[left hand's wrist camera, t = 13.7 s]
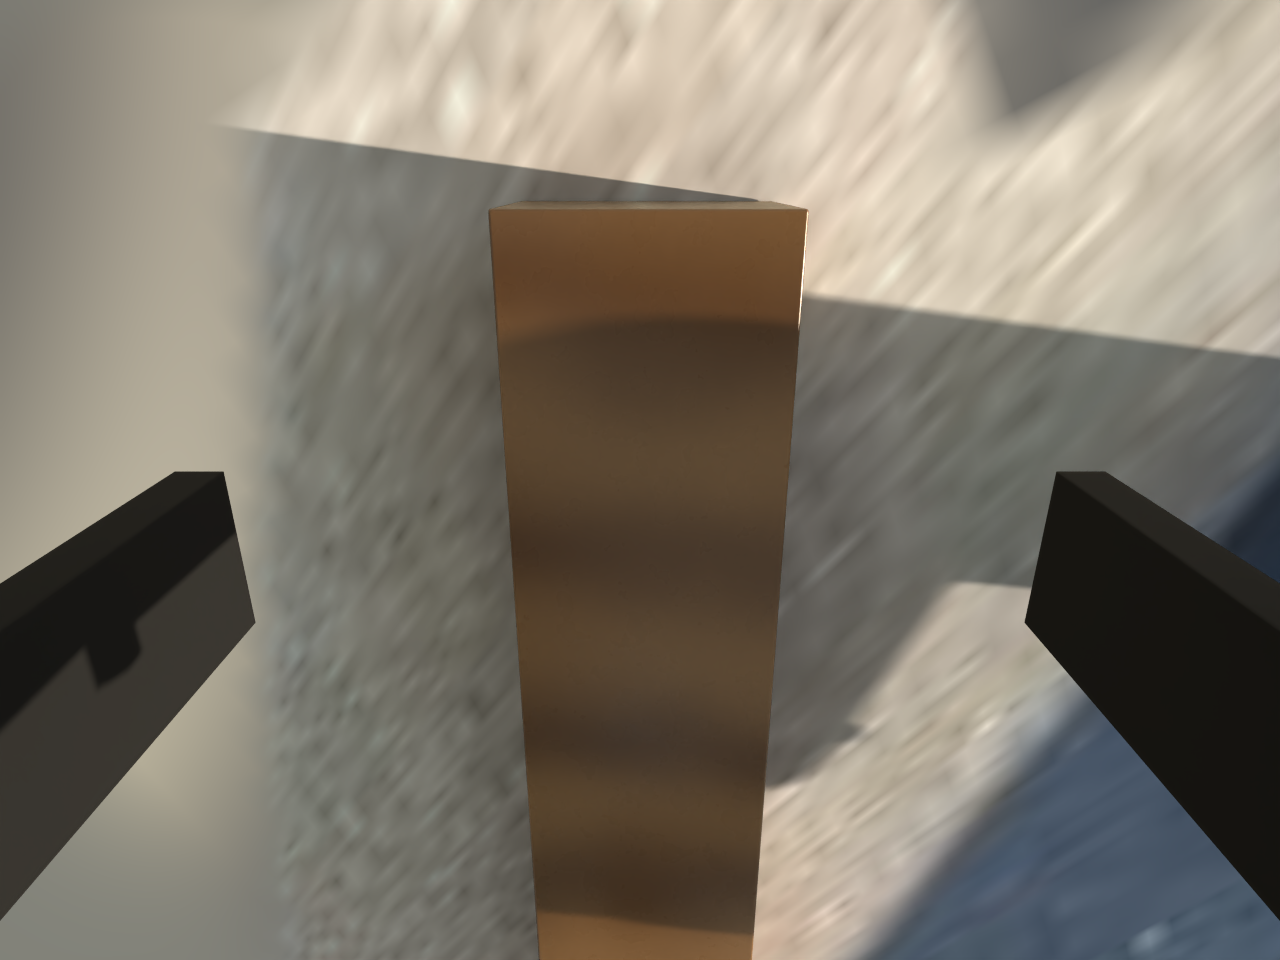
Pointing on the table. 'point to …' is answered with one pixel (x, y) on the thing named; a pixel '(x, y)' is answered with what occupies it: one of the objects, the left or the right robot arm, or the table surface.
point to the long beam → (647, 555)
